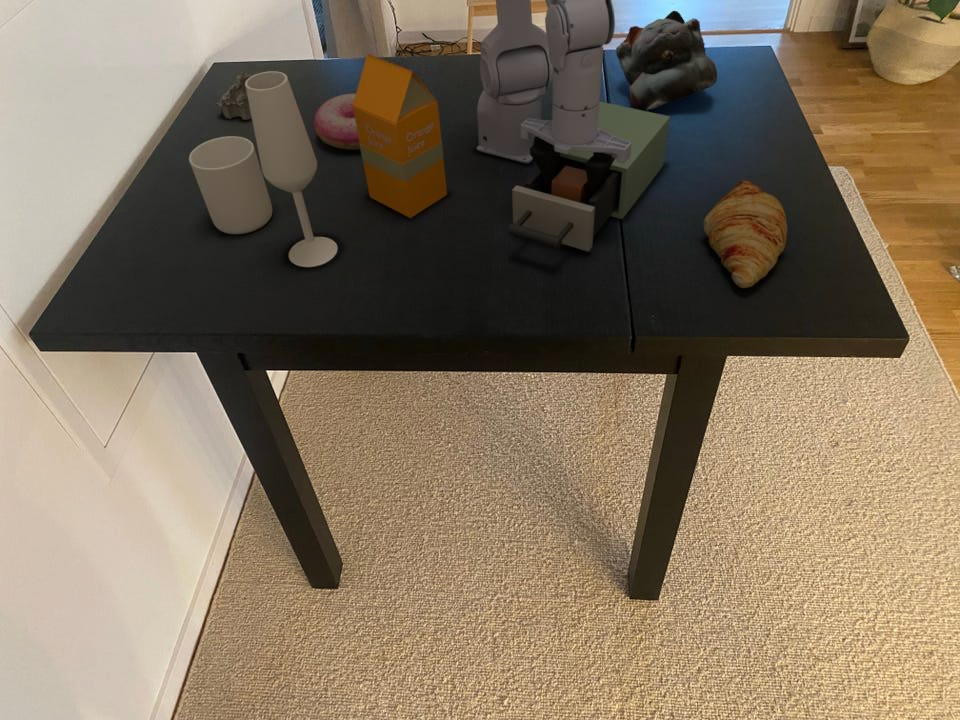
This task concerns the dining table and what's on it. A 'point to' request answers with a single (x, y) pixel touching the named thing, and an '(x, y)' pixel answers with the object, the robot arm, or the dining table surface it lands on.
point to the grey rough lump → (236, 99)
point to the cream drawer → (562, 211)
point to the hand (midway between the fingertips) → (572, 195)
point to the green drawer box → (632, 149)
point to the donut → (338, 123)
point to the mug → (232, 184)
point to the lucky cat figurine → (665, 61)
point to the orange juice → (399, 137)
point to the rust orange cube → (571, 184)
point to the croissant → (747, 232)
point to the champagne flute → (286, 156)
